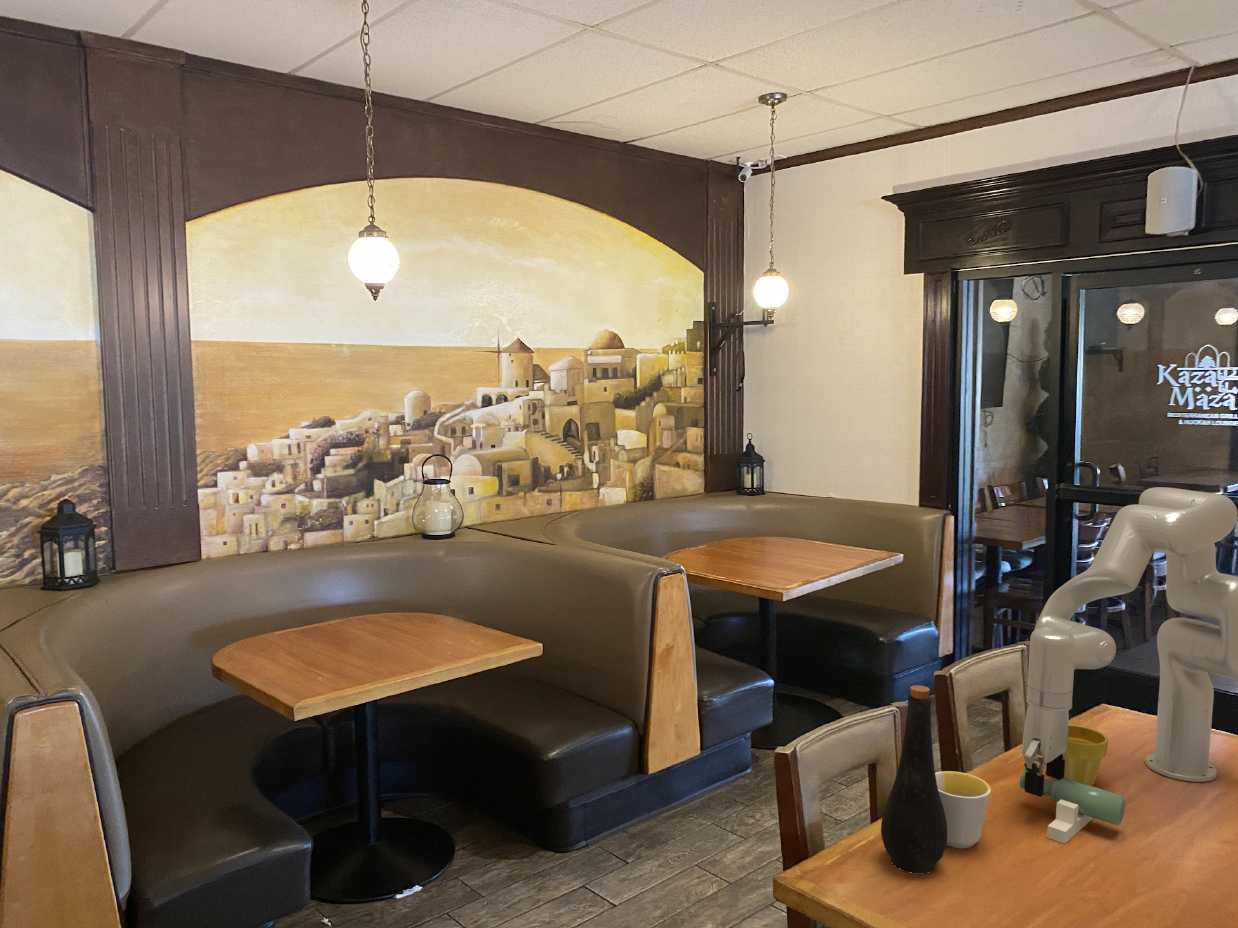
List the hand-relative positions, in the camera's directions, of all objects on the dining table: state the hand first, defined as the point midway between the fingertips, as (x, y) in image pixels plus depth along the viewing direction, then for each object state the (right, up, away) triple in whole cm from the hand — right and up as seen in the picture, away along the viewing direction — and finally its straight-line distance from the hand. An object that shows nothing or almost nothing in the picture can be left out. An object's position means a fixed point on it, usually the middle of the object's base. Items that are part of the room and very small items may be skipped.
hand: (1044, 785), depth 174 cm
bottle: (-30, -7, -17) cm, 35 cm away
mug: (-19, -6, -9) cm, 22 cm away
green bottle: (+9, -1, -9) cm, 13 cm away
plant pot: (+13, -4, +14) cm, 20 cm away
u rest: (+4, -6, -4) cm, 8 cm away
